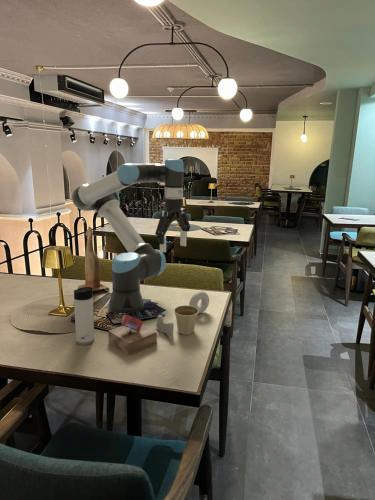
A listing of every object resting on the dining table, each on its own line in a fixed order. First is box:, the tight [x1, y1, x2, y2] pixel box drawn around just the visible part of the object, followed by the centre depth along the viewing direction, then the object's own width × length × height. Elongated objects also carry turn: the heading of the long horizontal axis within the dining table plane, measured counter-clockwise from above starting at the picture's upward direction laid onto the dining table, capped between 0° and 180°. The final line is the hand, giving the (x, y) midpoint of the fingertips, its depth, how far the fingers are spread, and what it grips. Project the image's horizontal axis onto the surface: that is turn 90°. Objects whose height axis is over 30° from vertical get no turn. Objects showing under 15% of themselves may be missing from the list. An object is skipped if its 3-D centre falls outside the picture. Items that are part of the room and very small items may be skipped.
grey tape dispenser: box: [155, 314, 175, 339], centre depth 138 cm, size 6×1×10 cm
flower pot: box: [173, 305, 199, 336], centre depth 139 cm, size 9×9×9 cm
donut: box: [188, 290, 210, 315], centre depth 155 cm, size 10×4×10 cm, turn 129°
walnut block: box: [108, 324, 158, 357], centre depth 130 cm, size 12×12×5 cm
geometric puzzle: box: [120, 313, 144, 333], centre depth 128 cm, size 7×7×8 cm
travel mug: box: [73, 287, 95, 346], centre depth 128 cm, size 6×7×20 cm
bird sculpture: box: [77, 226, 110, 292], centre depth 175 cm, size 11×12×32 cm
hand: (173, 248), depth 155 cm, fingers open, 13 cm apart
